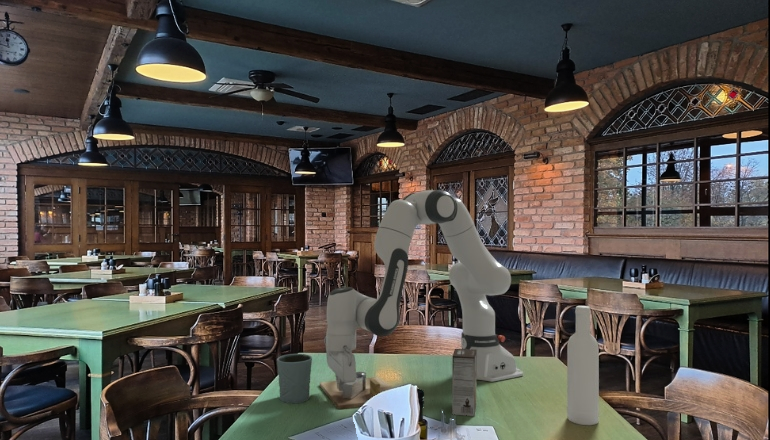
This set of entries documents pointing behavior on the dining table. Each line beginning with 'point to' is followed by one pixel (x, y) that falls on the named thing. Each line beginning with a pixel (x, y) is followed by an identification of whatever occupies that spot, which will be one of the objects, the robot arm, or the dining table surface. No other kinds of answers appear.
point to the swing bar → (355, 386)
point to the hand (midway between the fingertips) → (340, 389)
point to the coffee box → (464, 382)
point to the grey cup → (294, 377)
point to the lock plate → (372, 389)
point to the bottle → (583, 372)
